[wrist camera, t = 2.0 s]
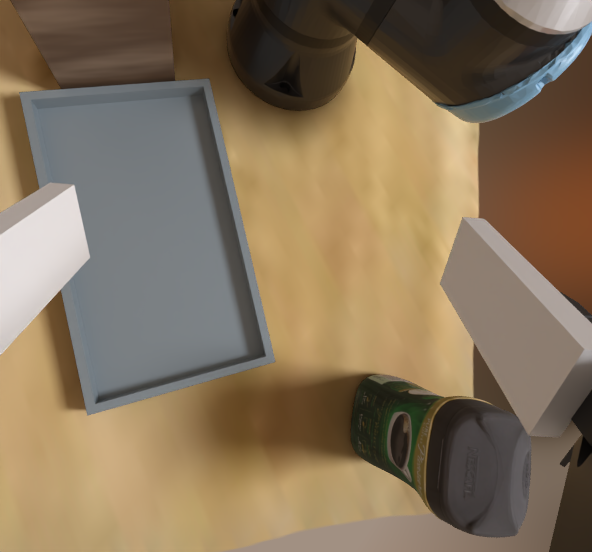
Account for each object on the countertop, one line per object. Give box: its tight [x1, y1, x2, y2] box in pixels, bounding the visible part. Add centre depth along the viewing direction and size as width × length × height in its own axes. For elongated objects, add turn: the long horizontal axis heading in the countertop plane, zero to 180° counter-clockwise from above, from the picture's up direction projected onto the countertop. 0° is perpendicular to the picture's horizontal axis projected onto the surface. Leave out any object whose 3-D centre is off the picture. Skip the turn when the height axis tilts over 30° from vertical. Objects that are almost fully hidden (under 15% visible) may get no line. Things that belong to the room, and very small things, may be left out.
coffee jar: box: [351, 375, 531, 537], centre depth 36 cm, size 10×8×19 cm
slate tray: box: [19, 79, 275, 416], centre depth 40 cm, size 31×18×2 cm, turn 14°
